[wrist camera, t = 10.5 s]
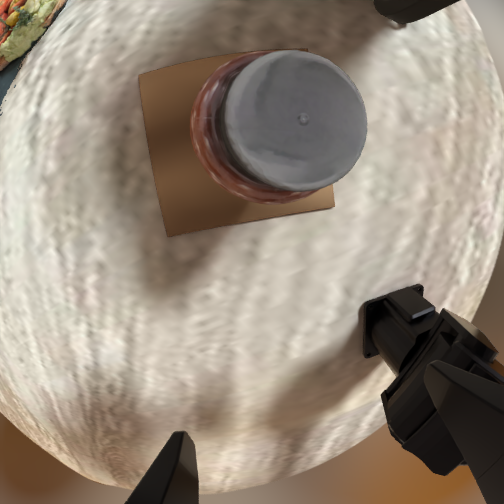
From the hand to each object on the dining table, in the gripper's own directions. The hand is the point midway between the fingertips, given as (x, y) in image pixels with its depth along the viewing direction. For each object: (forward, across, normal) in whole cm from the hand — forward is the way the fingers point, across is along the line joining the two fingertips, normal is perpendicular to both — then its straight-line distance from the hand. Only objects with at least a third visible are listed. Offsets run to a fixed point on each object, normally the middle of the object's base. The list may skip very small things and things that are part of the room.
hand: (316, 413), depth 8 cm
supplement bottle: (+13, 0, -10) cm, 16 cm away
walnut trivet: (+14, 0, -10) cm, 17 cm away
